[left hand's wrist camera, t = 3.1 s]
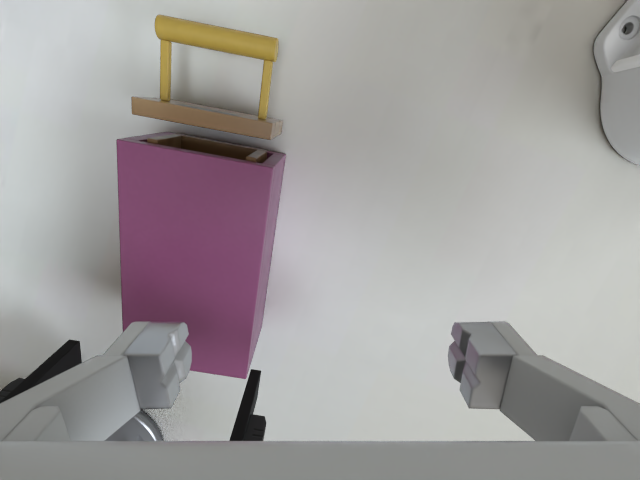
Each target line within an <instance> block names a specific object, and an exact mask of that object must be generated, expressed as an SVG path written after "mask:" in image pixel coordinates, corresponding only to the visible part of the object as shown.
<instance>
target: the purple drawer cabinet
mask: <svg viewBox="0 0 640 480" xmlns="http://www.w3.org/2000/svg"><path fill="white" fill-rule="evenodd" d="M170 134H175V133H169V132H163V133H155V134H149V135H142V136H135V137H129V138H123V139H117V167H118V198H119V228H120V259H121V290H122V320H123V332H124V331H125V330H126V329H127V327H128V326H129V325H130V324H131V323H133V322H136V321H150V322H152V321H155V322H184V323H186V324H187V328H188V332H189V335H188V336H187V338H186V340H185V341H186V342H187V343H188V344H189V345H190V346H191V351H192V362H191V367H190V370H191V371H197V372H204V373H210V374H217V375H223V376H230V377H236V378H243V379H246V378H247V374H248V371H249V368H250V364H251V361H252V358H253V354H254V351H255V348H256V344H257V341H258V338H259V334H260V331H261V328H262V321H263V314H264V306H265V299H266V292H267V285H268V278H269V271H270V264H271V257H272V250H273V242H274V235H275V228H276V221H277V214H278V207H279V200H280V193H281V186H282V179H283V171H284V164H285V157H286V154H283V153H277V152H272V151H268V152H267V160H266V161H264V162H263V163H257V162H251V161H246V160H240V159H235V158H229V157H224V156H218V155H213V154H208V153H202V152H197V151H191V150H186V149H180V148H175V147H169V146H164V145H159V144H153V143H148V142H147V139H148V138H152V137H158V136H164V135H170Z"/></svg>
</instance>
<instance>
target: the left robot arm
mask: <svg viewBox="0 0 640 480" xmlns="http://www.w3.org/2000/svg"><path fill="white" fill-rule="evenodd" d="M624 25H625V26H626V32H625V33H624V34H623V32H622V28H623V26H624ZM594 56H595V59H596V63H597V66H598V69H599V71H600V74H601V76H602V92H601V103H600V111H601V121H602V126H603V129H604V132H605V135H606V137H607V139H608V141H609V142H610V144H611V145H612V147H613V148H614V149H615V150H616V151H617V152H618V153H619V154H620V155H621V156H622V157H624V158H625V159H627V160H628V161H630V162H632V163H635V164H637V165H640V0H627V1H626V3H625V4H624V5H623V6H622V7H621V9H620V10H619V11H618V12H617V13H616V15H615V16H614V17H613V18H612V19H611V20H610V22H609V23H608V24H607V25H606V26H605V28H604V29H603V30H602V31H601V32H600V34H599V35H598V36H597V38H596V40H595V43H594ZM188 335H189V332H188V328H187V324H186V323H184V322H155V321H152V322H150V321H136V322H133V323H131V324H130V325H129V326H128V327H127V329H126V330H125V331H124V332H123V333H122V334H121V335H120V336H119V337H118V339H117V340H116V341H115V342H114V343H113V344H112V345H111V346H110V348H109V349H108V350H107V351H106V352H105V353H104V354H103V355H99V356H95V357H93V358H91V359H89V360H87V361H85V362H83V363H81V364H79V365H77V366H75V367H73V368H71V369H69V370H67V371H65V372H63V373H61V374H59V375H57V376H55V377H53V378H51V379H49V380H47V381H45V382H43V383H41V384H39V385H37V386H35V387H33V388H30V389H28V390H26V391H24V392H22V393H20V394H18V395H16V396H14V397H12V398H10V399H8V400H6V401H4V402H2V403H0V480H640V404H639V403H637V402H635V401H633V400H631V399H629V398H627V397H625V396H623V395H621V394H619V393H617V392H615V391H613V390H611V389H609V388H607V387H605V386H603V385H601V384H599V383H597V382H595V381H593V380H591V379H589V378H587V377H585V376H583V375H581V374H579V373H577V372H575V371H573V370H571V369H569V368H567V367H565V366H563V365H561V364H559V363H557V362H555V361H553V360H551V359H549V358H547V357H545V356H541V355H537V354H536V353H535V352H534V351H533V350H532V349H531V348H530V346H529V345H528V344H527V343H526V342H525V341H524V340H523V339H522V338H521V336H520V335H519V334H518V333H517V332H516V331H515V330H514V329H513V327H512V326H511V325H510V324H509V323H507V322H505V321H494V322H459V323H454V325H453V327H452V332H451V335H452V336H453V338H454V340H455V341H454V342H453V343H452V344H451V345H450V346H449V352H448V361H449V367H450V371H451V373H452V375H453V377H454V379H456V380H457V381H458V382H460V383H461V385H460V392H461V393H462V395H463V397H464V399H465V401H466V403H467V405H468V407H469V408H476V409H500V411H501V412H502V413H503V414H504V415H506V416H507V417H508V418H509V419H510V420H512V421H513V422H514V423H515V424H516V425H517V426H519V427H520V428H521V429H522V430H523V431H525V432H526V433H527V434H528V435H529V436H531V437H532V438H533V439H534V440H535V441H105V440H106V439H107V438H108V437H109V436H111V435H112V434H113V433H114V432H115V431H117V430H118V429H119V428H120V427H121V426H123V425H124V424H125V423H126V422H127V421H129V420H130V419H131V418H132V417H133V416H135V415H136V414H137V413H138V412H139V411H140V409H163V408H171V407H172V405H173V403H174V401H175V399H176V397H177V395H178V393H179V392H180V385H179V383H180V382H182V381H183V380H184V379H186V377H187V375H188V373H189V371H190V367H191V362H192V351H191V346H190V345H189V344H188V343H187V342H186V341H185V340H186V338H187V336H188Z"/></svg>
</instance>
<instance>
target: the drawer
mask: <svg viewBox="0 0 640 480" xmlns="http://www.w3.org/2000/svg"><path fill="white" fill-rule="evenodd" d="M155 31H156V35H157V37H158V38H159V39H161V62H160V98H146V97H132V114H134V115H139V116H145V117H150V118H155V119H161V120H166V121H171V122H177V123H182V124H187V125H193V126H198V127H204V128H209V129H214V130H220V131H225V132H230V133H236V134H241V135H246V136H252V137H257V138H262V139H268V140H271V139H273V138H275V137H276V136H278V135H280V134H281V130H282V123H283V121H282V120H278V119H273V118H267V109H268V101H269V92H270V84H271V75H272V66H273V62H276V60H277V55H278V39H277V38H273V37H269V36H264V35H259V34H254V33H249V32H244V31H239V30H234V29H229V28H224V27H219V26H214V25H209V24H204V23H199V22H194V21H189V20H184V19H179V18H174V17H169V16H164V15H157V17H156V19H155ZM170 41H171V42H176V43H181V44H186V45H191V46H196V47H201V48H206V49H211V50H216V51H221V52H227V53H232V54H237V55H242V56H247V57H252V58H257V59H262V60H264V66H263V75H262V85H261V94H260V103H259V112H258V116H257V115H252V114H246V113H241V112H236V111H230V110H225V109H220V108H215V107H209V106H204V105H199V104H194V103H188V102H183V101H178V100H173V99H170V91H171V42H170ZM147 142H148V143H153V144H159V145H164V146H169V147H175V148H180V149H186V150H191V151H197V152H202V153H208V154H213V155H218V156H224V157H229V158H235V159H240V160H246V161H251V162H257V163H263V162H264V161H266V160H267V152H268V150H264V149H259V148H253V147H248V146H243V145H237V144H232V143H226V142H221V141H216V140H210V139H205V138H199V137H194V136H189V135H183V134H178V133H175V134H170V135H164V136H158V137H152V138H148V139H147Z"/></svg>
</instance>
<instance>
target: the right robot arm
mask: <svg viewBox="0 0 640 480" xmlns="http://www.w3.org/2000/svg"><path fill="white" fill-rule="evenodd" d="M81 363H82V361H81V351H80V341H75V340H68V341H67V342H66V343H65V344H64V345H63V346H62V347H61V348H60V349H58V350H57V351H56V352H55V353H54V354H53V355H52V356H51V357H49V358H48V359H47V360H46V361H45V362H44V363H43V364H42V365H40V366H39V367H38V368H37V369H36V370H35V371H34V372H33V373H32V374H30V375H29V376H28V377H27V378H26V379H22V378H18V379H16V380H15V381H13V382H11V383H9V384H8V385H7V386H6V387H5V388H3V389H2V391H0V403H2V402H4V401H6V400H8V399H10V398H12V397H14V396H16V395H18V394H20V393H22V392H24V391H26V390H28V389H30V388H33V387H35V386H37V385H39V384H41V383H43V382H45V381H47V380H49V379H51V378H53V377H55V376H57V375H59V374H61V373H63V372H65V371H67V370H69V369H71V368H73V367H75V366H77V365H79V364H81ZM260 375H261V371H259V370H252V369H251V372H250V375H249V378H248V382H247V385H246V388H245V392H244V395H243V398H242V401H241V405H240V408H239V411H238V415H237V418H236V421H235V425H234V428H233V431H232V434H231V438H230V441H263V439H264V434H265V427H266V420H265V416H259V415H253V412H254V408H255V404H256V400H257V395H258V388H259V382H260ZM105 441H163V439H162V435H161V433H160V430H159V428H158V427H157V425H156V424H155V423H154V421H153V420H152V419H151V418H150V417H149V416H148V415H147V414H146V413H145V412H143V411H142V410H141V409H140V411H139V412H138V413H137V414H136V415H135V416H133V417H132V418H131V419H130V420H129V421H127V422H126V423H125V424H124V425H123V426H121V427H120V428H119V429H118V430H117V431H115V432H114V433H113V434H112V435H111V436H109V437H108V438H107V439H106V440H105Z"/></svg>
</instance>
